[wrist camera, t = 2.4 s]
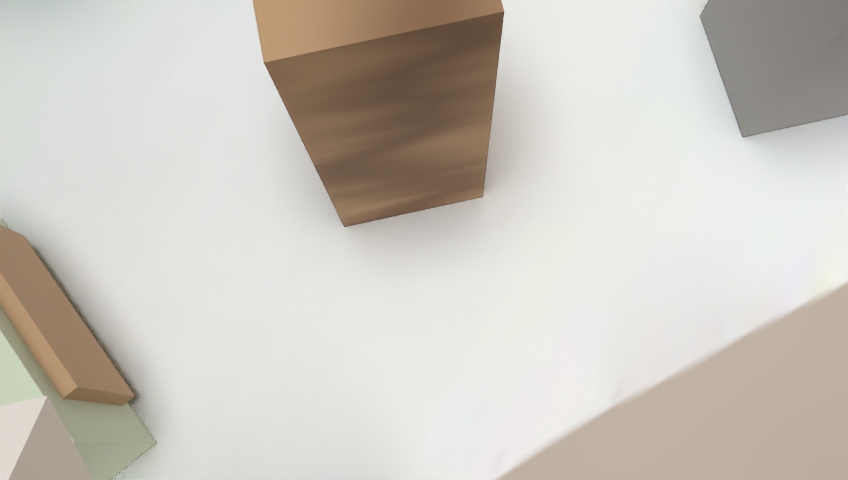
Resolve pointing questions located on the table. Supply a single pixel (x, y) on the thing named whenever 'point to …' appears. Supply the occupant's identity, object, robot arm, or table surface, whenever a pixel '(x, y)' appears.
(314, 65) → the walnut block
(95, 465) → the base block
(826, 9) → the slate block
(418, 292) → the table surface
